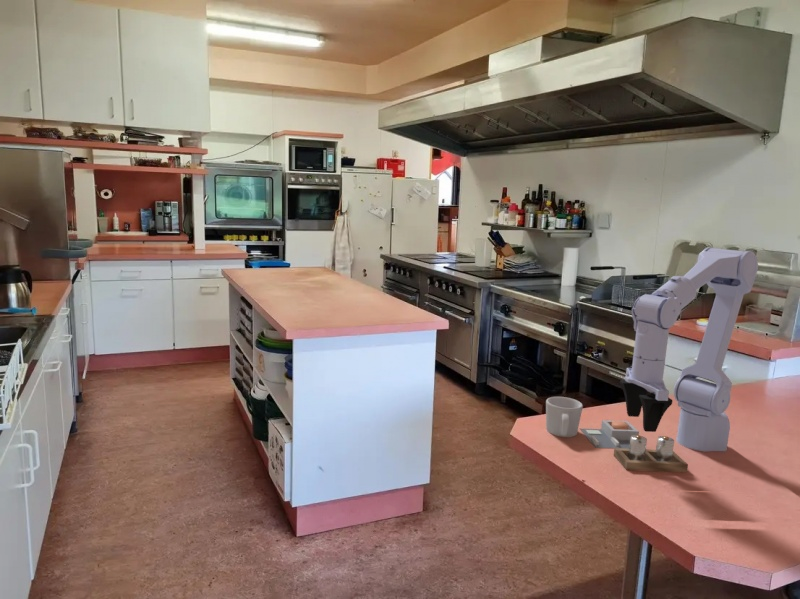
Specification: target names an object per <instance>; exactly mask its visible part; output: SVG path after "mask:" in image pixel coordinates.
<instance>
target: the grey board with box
mask: <svg viewBox="0 0 800 599" xmlns="http://www.w3.org/2000/svg"><path fill="white" fill-rule="evenodd" d="M613 421H614V420H607V419H606V420H605V419H604V420H603V419H602V420H601V424H600V426H601V427H600V428H579V427H578V430H580V431H581V433H582V434H584V436H585V437H586V438H587V439H588V441H589V442H590V443H591V445H592V446H593V447H594V448H596V449H613V450H614V448H622V449H629V447H630V438H631V436H632V435H640V431H639V430H638V429H637V428H636V427H635V426H634V425H633V424H632V423H631V422H629V421H628V420H620V421H621V422H625V423H627V424H628V425H629V429H628V430H621V429H614V428H613V427H612V422H613Z"/></svg>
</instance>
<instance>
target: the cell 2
mask: <svg viewBox="0 0 800 599" xmlns="http://www.w3.org/2000/svg"><path fill="white" fill-rule="evenodd" d="M656 440H657V442H656V449H655V450H656V455H655V459H656V460H657V461H668V462H671V461H672V454H673V452H674V445H675V440H674V438H672V437H670V436H667V435H666V436H665V435H663V436H662V435H659V436H658V437H657V439H656Z"/></svg>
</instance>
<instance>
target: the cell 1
mask: <svg viewBox="0 0 800 599" xmlns="http://www.w3.org/2000/svg"><path fill="white" fill-rule="evenodd" d="M647 442H648V439H647V438H646V437H645V436H642V435H640V434H639V435H632V436H631V438H630V447H629V455H628V458H629V459H630V460H641V461H644V459H645V451H646V449H647Z"/></svg>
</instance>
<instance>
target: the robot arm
mask: <svg viewBox="0 0 800 599" xmlns="http://www.w3.org/2000/svg"><path fill="white" fill-rule="evenodd" d="M758 269H759V264H758V257H757V255H756V254H755V252H754V251H752V250H745V251H744V250H736V249H735V250H734V249H725V248H714V247H711V246H707V247H705V248H704V249H703V250H702V251H701V252H699V253H698V257H697V262H696V264H694V265H693V267H692V268H691V269H689V270H688V271H687V272H686V273H685V274H684V275H683V276H682V275H672V277H670V279H668V281H667V282H665V283H664V284H663V285H661V286H660V287H658V288H657V289H656V290H655V291H653V292H652V293H651V294H648V293H645V294H643V295H641V296H638V297H637V299H636V300H635V301H634V304H633V307H632V308H631V317H632V320H633V329H634V332H635V341H634V347H633V356H632V364H631V367H626V371H625V376H624V379H621V380H620V381H619V383H620V386H621V388H622V390H623V394H624V399H625V406H626V414H627V416H628V417H630V418H631V417H634V418H635V417H636V418H639V417H640V415H641V412H642V428H643V431H644V432H647V433H649V432H654V433H655V432H656V431H657V429H658V427H659V424H660V423H661V420H662V418H663V416H664V414H665V413H666V412H667V410H668V409H669V408H670V407H671V406H672V405H673V399H672V398H670V397H669V396H670V390H669V389H667V386H666V384H665V381H664V373H665V372H664V371H665V365H666V357H667V348H668V340H669V335H670V334H669V332H670V328H671V327H674V325H675V324H676V322H677V319H678V318H679V315H681V313H682V310H683V309H684V308H685V307H686V306H688V305H689V304H690V303H691V302H692V301H693V300H695V298H696V296H697V293H698V292H697V290H698V289H700V288H701V287H703V286H704V285H707V286H708V287H709V288H710V289H712V290H713V291H714V293H715V298H714V301H713V304H712V308H711V310H710V314H709V318H708V321H707V323H706V324H707V325H706V328H705V331H704V334H703V337H702V342H701V344H700V348H699V351H698V354H697V358H696V361H695V363H693V364H691V365H688V366H686V367H684V368H682V370H681V372H680V375H679V377H678V379H677V380H676V382H675V383H674V386H673V397H674V399H675V401H676V402H677V407H680V410H679V418H678V424H677V426H678V427H677V431H676V432H677V434H676V440H675V441H676V443H677V444H679V445H680V446H682V447H685V448H687V449H691V450H695V451H700V452H727V448H728V443H729V442H728V441H729V436H730V430H731V429H730V428H731V423H730V419H729V416H728V415H727V413H726V412H725V411H727V409H728V407H729V405H730V402H731V390H732V386H733V385H732V384H733V383H732V380H730V378H729V377H728V376H727V375H726V373H725V372H724V371H723V370H722V368H723V366H724V362H725V358H726V354H727V352H728V349H729V346H730V342H731V338H732V336H733V331H734V329H735V325H736V322H737V319H738V316H739V313H740V309H741V304H742V302H743V298H744V296H745V295H746V294H749V293H751V292H752V288H753V287H754V285H755V284H754V283H755V280H756V277H757V273H758ZM700 378H702V379H700ZM703 379H706V380H708V381H706V380H703ZM709 380H710V381H712V382H710V381H709ZM713 382H714V383H713ZM647 392H648V393H649V394H647Z"/></svg>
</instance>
